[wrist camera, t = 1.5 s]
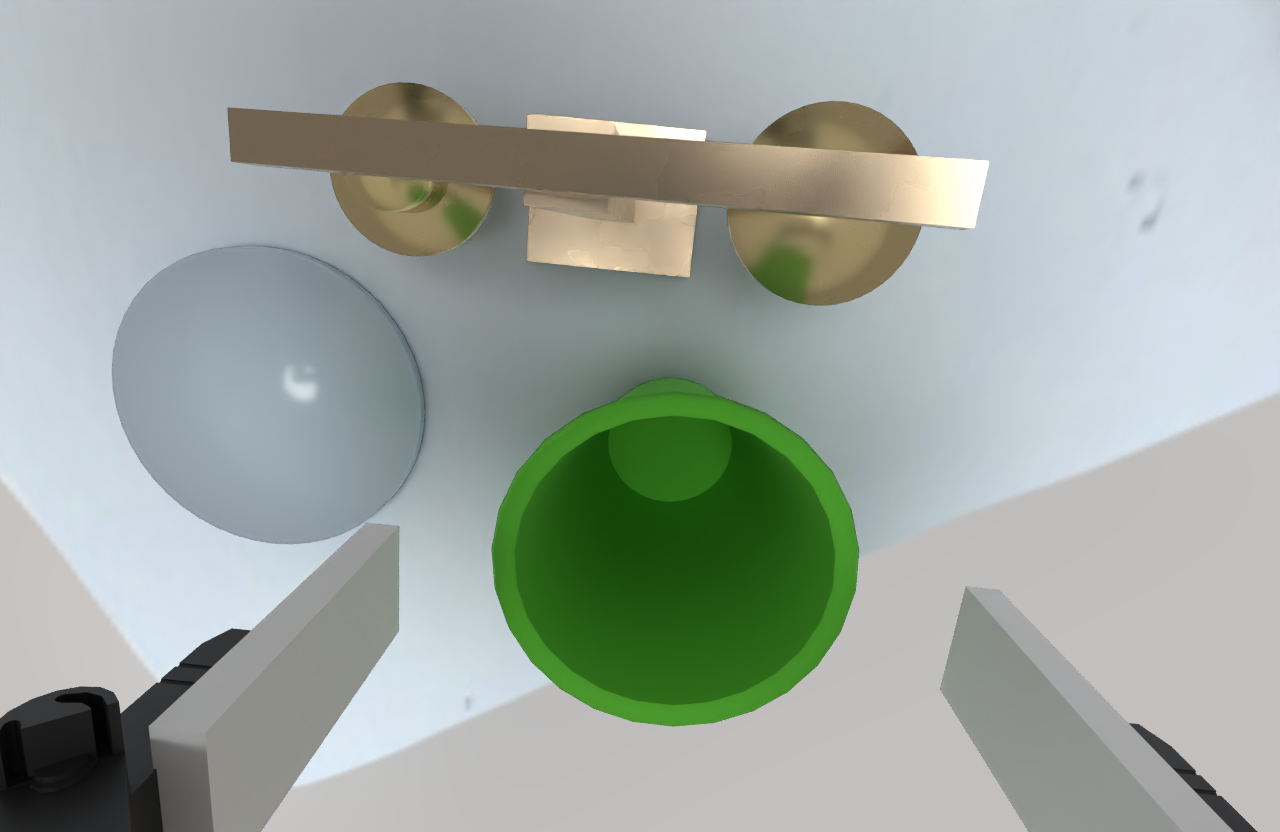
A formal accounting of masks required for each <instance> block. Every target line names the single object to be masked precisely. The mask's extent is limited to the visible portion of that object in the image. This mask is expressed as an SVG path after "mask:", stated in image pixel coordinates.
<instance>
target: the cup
mask: <svg viewBox="0 0 1280 832" xmlns="http://www.w3.org/2000/svg"><path fill="white" fill-rule="evenodd" d="M858 558H859V547H858V542H857V537H856V531H855V526H854V521H853V515H852V510H851V508H850V506H849V504H848V502H847V500H846V498H845V496H844V494H843V492H842V490H841V488H840V486H839V484H838V482H837V480H836V478H835V476H834V474H833V472H832V471H831V469H830V468H829V467H828V466H827V465H826V464H825V463H824V461H823V460H822V459H821V458H820V457H819V456H818V455H817V454H816V452H815V451H814V450H813V449H812V448H811V447H810V446H809V444H808V443H807V442H806V441H805V440H804V439H803V438H802V437H800V436H799V435H797V434H796V433H794V432H793V431H791V430H790V429H788V428H787V427H785V426H784V425H782V424H781V423H780V422H778V421H777V420H775V419H774V418H772V417H771V416H769V415H768V414H766V413H764V412H761V411H759V410H756V409H753V408H751V407H748V406H745V405H742V404H740V403H737V402H734V401H731V400H729V399H726V398H723V397H719V396H717V395H715V394H714V393H712V392H711V391H709V390H708V389H706V388H705V387H703V386H702V385H699V384H697V383H694V382H691V381H688V380H685V379H676V378H664V379H656V380H652V381H649V382H646V383H644V384H641V385H638V386H637V387H635V388H634V389H633V390H631V391H630V392H628V393H627V394H625V395H624V396H623V397H621V398H620V399H619V400H617V401H615V402H612V403H609V404H607V405H604V406H601V407H599V408H596V409H593V410H591V411H588V412H585V413H583V414H581V415H580V416H578V417H577V418H575V419H574V420H573V421H571V422H570V423H568V424H567V425H565V426H564V427H562V428H561V429H559V430H558V431H557V432H555V433H554V434H552V435H551V436H549V437H548V438H546V439H545V440H544V442H543V443H542V444H541V445H540V446H539V447H538V448H537V450H536V451H535V452H534V453H533V454H532V455H531V456H530V458H529V459H528V460H527V461H526V462H525V463H524V465H523V466H522V467H521V468H520V469H519V470H518V471H517V473H516V475H515V477H514V479H513V482H512V484H511V486H510V488H509V490H508V492H507V494H506V496H505V498H504V500H503V502H502V504H501V506H500V508H499V512H498V517H497V523H496V528H495V533H494V539H493V544H492V560H493V573H494V585H495V590H496V593H497V596H498V599H499V602H500V604H501V607H502V610H503V613H504V616H505V619H506V622H507V624H508V627H509V629H510V630H511V632H512V633H513V635H514V636H515V638H516V640H517V641H518V643H519V644H520V646H521V647H522V649H523V650H524V652H525V653H526V655H527V656H528V658H529V659H530V661H531V662H532V663H533V664H534V665H535V666H536V667H537V668H538V669H540V670H541V671H542V672H543V673H544V674H545V675H546V676H547V677H548V678H549V679H550V680H551V681H552V682H553V683H555V684H556V685H557V686H558V687H559V688H560V689H561V690H563V691H565V692H567V693H568V694H570V695H572V696H574V697H575V698H577V699H578V700H580V701H582V702H584V703H585V704H587V705H589V706H590V707H592V708H594V709H596V710H599V711H603V712H605V713H608V714H611V715H615V716H617V717H621V718H623V719H627V720H630V721H632V722H640V723H648V724H657V725H665V726H684V725H695V724H706V723H715V722H719V721H722V720H725V719H728V718H732V717H735V716H738V715H742V714H745V713H748V712H752V711H754V710H756V709H758V708H760V707H761V706H763V705H765V704H767V703H769V702H770V701H772V700H774V699H776V698H778V697H779V696H781V695H783V694H785V693H787V692H788V691H789V690H791V689H792V688H793V687H794V686H795V685H796V684H797V683H798V682H799V681H801V680H802V679H803V678H804V677H805V676H806V675H807V674H809V673H810V672H811V671H812V670H813V669H814V668H815V667H816V666H818V664H819V662H820V661H821V660H822V658H823V657H824V656H825V654H826V652H827V651H828V650H829V648H830V647H831V645H832V644H833V642H834V641H835V640H836V638H837V637H838V635H839V634H840V632H841V630H842V627H843V624H844V622H845V619H846V616H847V613H848V611H849V608H850V605H851V602H852V599H853V597H854V594H855V591H856V582H857V581H856V580H857V570H858Z"/></svg>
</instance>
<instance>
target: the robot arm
mask: <svg viewBox="0 0 1280 832" xmlns="http://www.w3.org/2000/svg"><path fill="white" fill-rule="evenodd" d="M398 631H399V526H391V525H382V524H373V523H366V524H365V525H364V526H363V527H362V528H360V529H359V530H358V531H357V532H356V533H355V534H354V535H353V536H352V537H351V538H350V539H349V540H348V541H347V542H345V543H344V544H343V545H342V546H341V547H340V548H339V549H338V550H337V551H336V552H335V553H334V554H333V555H332V556H330V557H329V558H328V559H327V560H326V561H325V562H324V563H323V564H322V565H321V566H320V567H319V568H318V569H317V570H316V571H314V572H313V573H312V574H311V575H310V576H309V577H308V578H307V579H306V580H305V581H304V582H303V583H302V584H301V585H299V586H298V587H297V588H296V589H295V590H294V591H293V592H292V593H291V594H290V595H289V596H288V597H287V598H286V599H284V600H283V601H282V602H281V603H280V604H279V605H278V606H277V607H276V608H275V609H274V610H273V611H272V612H271V613H269V614H268V615H267V616H266V617H265V618H264V619H263V620H262V621H261V622H260V623H259V624H258V625H257V626H256V627H255V628H253V629H252V630H251V631H250V630H241V629H230V630H228V631H226V632H224V633H222V634H220V635H218V636H216V637H214V638H212V639H210V640H208V641H206V642H204V643H202V644H201V645H200V646H199V647H197V648H196V649H195V650H194V651H193V652H192V653H190V654H189V655H188V656H187V657H186V658H185V659H184V660H182V661H181V662H180V665H179V666H178V667H174V668H173V669H172V670H171V671H170V672H168V673H167V674H166V675H165V676H164V677H163V678H162V679H161V682H160V683H156V684H155V685H153V686H152V687H151V688H150V689H149V690H148V691H146V692H145V693H144V694H143V695H142V696H141V697H140V698H138V699H137V700H136V701H135V702H134V703H133V704H131V705H130V706H129V707H128V708H127V709H126V710H124V711H123V712H122V713H121V714H120V707H119V701H118V699H117V698H116V696H115V694H114V693H113V692H111V691H109V690H106V689H104V688H101V687H76V688H70V689H64V690H59V691H55V692H52V693H49V694H46V695H43V696H40V697H37V698H34V699H31V700H29V701H28V702H26V703H24V704H22V705H20V706H18V707H16V708H14V709H12V710H10V711H9V712H7V713H6V714H5V715H4V716H3V717H2V718H0V832H261V831H262V829H263V828H264V826H265V825H266V824H267V822H268V821H269V819H270V818H271V816H272V815H273V813H274V812H275V810H276V809H277V808H278V806H279V805H280V803H281V802H282V800H283V799H284V797H285V796H286V794H287V793H288V791H289V790H290V789H291V787H292V786H293V784H294V783H295V781H296V780H297V778H298V777H299V775H300V774H301V773H302V771H303V770H304V768H305V767H306V765H307V764H308V762H309V761H310V759H311V758H312V757H313V755H314V754H315V752H316V751H317V749H318V748H319V746H320V745H321V743H322V742H323V741H324V739H325V738H326V736H327V735H328V733H329V732H330V730H331V729H332V727H333V726H334V725H335V723H336V722H337V720H338V719H339V717H340V716H341V714H342V713H343V711H344V710H345V709H346V707H347V706H348V704H349V703H350V701H351V700H352V698H353V697H354V695H355V694H356V693H357V691H358V690H359V688H360V687H361V685H362V684H363V682H364V681H365V679H366V678H367V677H368V675H369V674H370V672H371V671H372V669H373V668H374V666H375V665H376V663H377V662H378V661H379V659H380V658H381V656H382V655H383V653H384V652H385V650H386V649H387V647H388V646H389V644H390V643H391V642H392V640H393V639H394V637H395V636H396V634H397V633H398ZM940 689H941V691H942V693H943V695H944V696H945V698H946V699H947V701H948V703H949V704H950V706H951V707H952V709H953V711H954V712H955V714H956V715H957V717H958V718H959V720H960V722H961V724H962V725H963V727H964V728H965V730H966V732H967V733H968V735H969V736H970V738H971V739H972V741H973V743H974V745H975V746H976V748H977V749H978V751H979V753H980V754H981V756H982V757H983V759H984V760H985V762H986V764H987V765H988V767H989V769H990V770H991V772H992V774H993V775H994V777H995V778H996V780H997V782H998V783H999V785H1000V786H1001V788H1002V789H1003V791H1004V793H1005V794H1006V796H1007V798H1008V799H1009V801H1010V803H1011V804H1012V806H1013V807H1014V809H1015V811H1016V812H1017V814H1018V815H1019V817H1020V819H1021V820H1022V822H1023V823H1024V825H1025V827H1026V828H1027V830H1028V831H1029V832H1257V831H1256V830H1255V829H1254V828H1253V827H1252V826H1251V825H1250V824H1249V823H1248V822H1247V821H1246V820H1245V819H1244V818H1243V817H1242V816H1241V815H1240V814H1239V813H1238V812H1237V811H1236V810H1235V809H1234V808H1233V807H1232V806H1231V805H1230V804H1229V803H1228V802H1227V801H1226V800H1224V798H1223V797H1222V796H1217V794H1216V790H1214V788H1213V787H1212V786H1211V785H1210V784H1209V783H1208V782H1207V781H1206V780H1205V779H1204V778H1203V777H1202V776H1200V775H1196V773H1195V772H1196V771H1195V769H1193V768H1192V767H1191V766H1190V765H1189V764H1188V763H1187V762H1186V761H1185V760H1184V759H1183V758H1182V757H1181V756H1180V755H1179V754H1178V753H1177V752H1176V751H1175V750H1174V749H1173V748H1172V747H1171V746H1170V745H1168V744H1167V743H1165V742H1164V741H1163V740H1161V739H1160V738H1158V737H1156V736H1155V735H1154V734H1152V733H1151V732H1149V731H1148V730H1146V729H1145V728H1143V727H1142V726H1140V725H1139V724H1131V723H1128V722H1127V721H1126V720H1125V719H1124V718H1123V717H1122V716H1121V715H1120V714H1119V713H1118V712H1117V711H1116V710H1115V709H1114V708H1113V707H1112V706H1111V705H1110V704H1109V703H1108V702H1107V701H1106V699H1105V698H1104V697H1103V696H1101V694H1100V693H1099V692H1098V691H1097V690H1095V688H1094V687H1093V686H1092V685H1091V684H1090V683H1089V682H1088V681H1087V680H1086V679H1085V678H1084V677H1083V676H1082V675H1081V674H1080V673H1079V672H1078V671H1077V670H1076V669H1075V668H1074V666H1073V665H1072V664H1071V663H1070V662H1069V661H1068V660H1067V659H1066V658H1065V657H1064V656H1063V655H1062V654H1061V653H1060V652H1059V651H1058V650H1057V649H1056V648H1055V647H1054V646H1053V645H1052V644H1051V643H1050V642H1049V641H1048V640H1047V639H1046V638H1045V637H1044V636H1043V635H1042V633H1040V631H1039V630H1038V629H1037V628H1036V627H1035V626H1034V625H1033V624H1032V623H1031V622H1030V621H1029V620H1028V619H1027V618H1026V617H1025V616H1024V615H1023V614H1022V613H1021V612H1020V611H1019V610H1018V609H1017V608H1016V607H1015V606H1014V605H1013V604H1012V603H1011V602H1010V601H1009V600H1008V598H1006V596H1005V595H1004V594H1003V593H1002V592H1001V591H1000V590H996V589H986V588H977V587H968V586H966V588H965V591H964V595H963V599H962V603H961V607H960V611H959V615H958V619H957V623H956V628H955V631H954V636H953V640H952V643H951V647H950V652H949V655H948V660H947V664H946V668H945V671H944V676H943V679H942V683H941V687H940Z"/></svg>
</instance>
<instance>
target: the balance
mask: <svg viewBox="0 0 1280 832" xmlns="http://www.w3.org/2000/svg"><path fill="white" fill-rule="evenodd" d="M228 122H229V137H230V152H231V161H232V162H238V163H245V164H252V165H258V166H267V167H278V168H289V169H300V170H311V171H322V172H330V176H331V181H332V185H333V189H334V192H335V195H336V198H337V200H338V202H339V204H340V206H341V208H342V210H343V211H344V213H345V215H346V216H347V218H348V219H349V220H350V222H351V223H352V224H353V225H354V227H355V228H356V229H357V230H358V231H359V232H360V233H361V234H363V235H364V236H365V237H366V238H368V239H369V240H370V241H372V242H373V243H375V244H377V245H378V246H380V247H382V248H384V249H386V250H389V251H391V252H395V253H398V254H402V255H408V256H428V255H437V254H441V253H445V252H447V251H450V250H452V249H455V248H456V247H458V246H460V245H462V244H463V243H465V242H466V241H467V240H468V239H470V238H471V237H472V236H473V235H474V234H475V233H476V232H477V230H478V229H479V228H480V226H481V225H482V224H483V222H484V220H485V218H486V217H487V215H488V213H489V210H490V207H491V205H492V201H493V197H494V192H495V187H498V188H509V189H520V190H524V198H523V206H528V207H529V224H528V245H527V261H531V262H541V263H551V264H561V265H571V266H580V267H590V268H600V269H610V270H620V271H630V272H639V273H649V274H659V275H669V276H679V277H689V275H690V267H691V258H692V249H693V241H694V232H695V223H696V215H697V206H707V207H718V208H727V218H728V228H729V233H730V237H731V240H732V244H733V247H734V249H735V251H736V253H737V255H738V257H739V260H740V261H741V263H742V264H743V266H744V267H745V269H746V270H747V271H748V272H749V273H750V275H751V276H752V277H753V278H754V279H755V280H756V281H757V282H759V283H760V284H761V285H762V286H763V287H765V288H766V289H768V290H769V291H771V292H773V293H774V294H776V295H778V296H780V297H783V298H785V299H787V300H790V301H793V302H797V303H801V304H807V305H821V306H823V305H834V304H839V303H843V302H848V301H850V300H853V299H856V298H859V297H861V296H863V295H865V294H867V293H869V292H871V291H872V290H874V289H875V288H877V287H878V286H880V285H881V284H883V283H884V282H885V281H886V280H887V279H888V278H889V277H891V276H892V275H893V274H894V273H895V271H896V270H897V269H898V268H899V267H900V266H901V265H902V263H903V262H904V261H905V259H906V258H907V256H908V255H909V253H910V251H911V250H912V248H913V246H914V244H915V242H916V240H917V237H918V235H919V232H920V230H921V226H927V227H938V228H949V229H960V230H965V229H974V227H975V223H976V218H977V214H978V210H979V205H980V201H981V196H982V192H983V187H984V183H985V179H986V174H987V170H988V165H989V161H983V160H969V159H955V158H940V157H926V156H918V155H917V153H916V151H915V149H914V147H913V145H912V144H911V142H910V140H909V139H908V138H907V136H906V135H905V134H904V133H903V131H902V130H901V129H900V128H899V127H898V126H897V125H896V124H894V123H893V122H892V121H891V120H890V119H888V118H887V117H885V116H884V115H883V114H881V113H879V112H877V111H875V110H873V109H871V108H868V107H865V106H862V105H859V104H855V103H850V102H841V101H829V102H820V103H815V104H811V105H807V106H803V107H801V108H799V109H796V110H794V111H791V112H789V113H788V114H786V115H784V116H782V117H781V118H779V119H778V120H776V121H775V122H774V123H772V124H771V125H770V126H768V127H767V128H766V129H765V130H764V131H763V132H762V133H761V134H760V135H759V136H758V137H757V138H756V139H755V140H754V142H753V143H752V144H740V143H726V142H712V141H705V137H706V131H702V130H692V129H682V128H672V127H662V126H652V125H642V124H632V123H622V122H612V121H602V120H592V119H582V118H572V117H562V116H552V115H542V114H534V115H529V114H527V129H526V128H511V127H497V126H483V125H478V123H477V122H476V121H475V119H474V118H473V117H472V116H471V115H470V114H469V112H468V111H467V110H466V109H464V108H463V107H462V106H461V105H460V104H459V103H457V102H456V101H454V100H453V99H451V98H450V97H448V96H447V95H445V94H443V93H442V92H439V91H437V90H435V89H433V88H430V87H427V86H424V85H421V84H415V83H401V82H399V83H391V84H386V85H383V86H379V87H377V88H374V89H372V90H370V91H368V92H366V93H365V94H363V95H362V96H360V97H359V98H358V99H357V100H356V101H354V102H353V103H352V104H351V105H350V106H349V108H348V109H347V110H346V111H345V113H344V114H343V116H340V115H325V114H311V113H297V112H283V111H268V110H254V109H240V108H228Z"/></svg>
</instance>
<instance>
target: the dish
mask: <svg viewBox="0 0 1280 832" xmlns="http://www.w3.org/2000/svg"><path fill="white" fill-rule="evenodd" d="M112 381H113V392H114V397H115V403H116V408H117V411H118V414H119V417H120V421H121V424H122V427H123V429H124V431H125V434H126V436H127V438H128V440H129V442H130V445H131V446H132V448H133V450H134V451H135V453H136V455H137V456H138V458H139V460H140V461H141V463H142V464H143V466H144V467H145V468H146V470H147V471H148V472H149V474H150V475H151V476H152V477H153V479H154V480H155V481H156V482H157V483H158V484H159V485H160V486H161V487H162V488H163V489H164V490H165V491H166V493H167V494H169V495H170V496H171V497H172V498H173V499H174V500H176V501H177V502H178V503H179V504H180V505H181V506H183V507H184V508H185V509H187V510H188V511H190V512H191V513H193V514H194V515H196V516H197V517H199V518H200V519H202V520H204V521H206V522H208V523H209V524H211V525H213V526H215V527H217V528H219V529H222V530H224V531H227V532H229V533H232V534H234V535H237V536H240V537H244V538H248V539H251V540H255V541H261V542H267V543H276V544H300V543H311V542H315V541H320V540H325V539H328V538H331V537H334V536H337V535H340V534H343V533H345V532H347V531H349V530H351V529H353V528H354V527H356V526H358V525H360V524H361V523H363V522H364V521H365V520H367V519H368V518H370V517H371V516H372V515H374V514H375V513H376V512H377V511H378V510H379V509H380V508H381V507H382V506H383V505H384V504H385V503H386V502H387V501H388V500H389V499H390V498H391V497H392V496H393V495H394V494H395V493H396V492H397V491H398V489H399V488H400V487H401V485H402V484H403V483H404V481H405V480H406V478H407V476H408V475H409V473H410V471H411V469H412V467H413V466H414V463H415V460H416V458H417V455H418V452H419V450H420V445H421V441H422V436H423V431H424V418H425V408H424V394H423V389H422V383H421V378H420V374H419V371H418V368H417V365H416V362H415V359H414V356H413V354H412V352H411V350H410V348H409V346H408V344H407V341H406V339H405V338H404V336H403V334H402V333H401V331H400V330H399V328H398V326H397V325H396V323H395V322H394V320H393V319H392V318H391V316H390V315H389V314H388V313H387V312H386V310H385V309H384V308H383V307H382V305H381V304H380V303H379V302H378V301H377V300H376V299H375V298H374V297H373V296H372V295H371V294H370V293H369V292H368V291H367V290H366V289H364V288H363V287H362V286H360V285H359V284H358V283H356V282H355V281H354V280H353V279H351V278H350V277H349V276H347V275H345V274H344V273H342V272H340V271H339V270H337V269H335V268H334V267H332V266H330V265H328V264H326V263H324V262H322V261H319V260H317V259H315V258H313V257H310V256H307V255H303V254H300V253H297V252H294V251H290V250H284V249H278V248H272V247H229V248H220V249H212V250H208V251H204V252H200V253H196V254H193V255H191V256H188V257H186V258H184V259H181V260H179V261H177V262H175V263H173V264H172V265H170V266H169V267H167V268H165V269H164V270H162V271H161V272H159V273H158V274H157V275H156V276H155V277H154V278H152V279H151V280H150V281H149V282H148V283H147V284H146V285H145V286H144V287H143V288H142V289H141V291H140V292H139V293H138V294H137V296H136V297H135V298H134V299H133V301H132V303H131V304H130V306H129V308H128V310H127V311H126V313H125V315H124V317H123V320H122V322H121V325H120V327H119V330H118V333H117V337H116V341H115V346H114V350H113V362H112Z"/></svg>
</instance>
